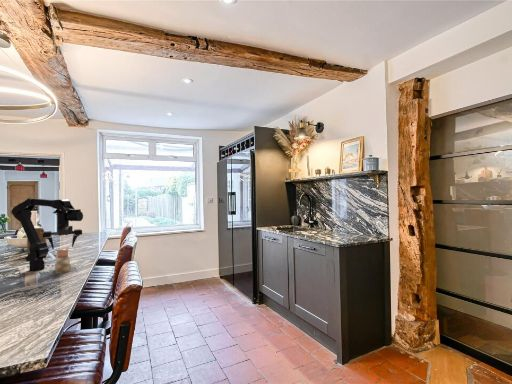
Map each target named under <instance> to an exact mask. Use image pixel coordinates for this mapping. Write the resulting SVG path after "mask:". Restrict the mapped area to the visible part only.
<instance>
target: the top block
mask: <svg viewBox="0 0 512 384" xmlns="http://www.w3.org/2000/svg"><path fill="white" fill-rule="evenodd" d="M55 261H56V262H55V263H56V264H57V265H65V264H70V263H71V256H70V255H69V254H68V257H62V258H58V257H57V255H56V256H55Z"/></svg>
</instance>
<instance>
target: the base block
mask: <svg viewBox="0 0 512 384" xmlns="http://www.w3.org/2000/svg"><path fill="white" fill-rule="evenodd" d="M71 267H72V263H71V262H70V264H65V265H57V264H56V262H55V264H54V269H55V272H56V273H60V272H67V271H71Z"/></svg>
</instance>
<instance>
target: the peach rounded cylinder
mask: <svg viewBox="0 0 512 384" xmlns="http://www.w3.org/2000/svg"><path fill="white" fill-rule="evenodd" d="M56 251H57V252H56V256H57V257H58V258H62V257H68V255H69V248H60V249H57V250H56Z"/></svg>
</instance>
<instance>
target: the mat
mask: <svg viewBox="0 0 512 384" xmlns="http://www.w3.org/2000/svg"><path fill="white" fill-rule="evenodd" d="M75 272H78V269H77V267H76V266H71V271H67V272H60V273H56V272H55V268H53V269H48V275H49V276H53V275H60V274H61V275H62V274H69V273H75Z"/></svg>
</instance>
